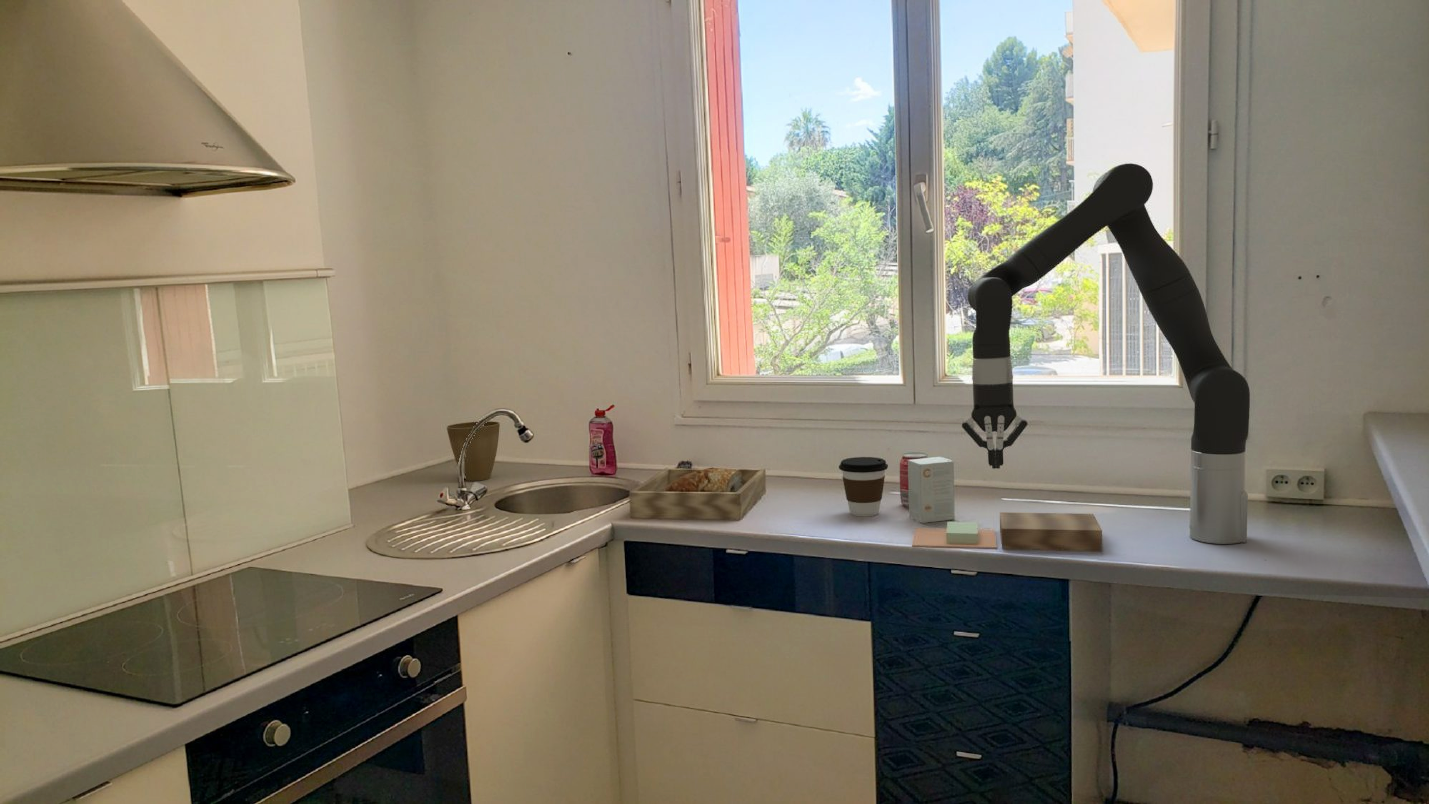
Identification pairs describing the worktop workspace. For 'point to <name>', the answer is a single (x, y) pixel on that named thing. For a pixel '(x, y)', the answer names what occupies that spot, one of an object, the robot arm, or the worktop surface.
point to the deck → (1050, 531)
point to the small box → (931, 489)
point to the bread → (708, 481)
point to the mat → (939, 540)
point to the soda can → (904, 474)
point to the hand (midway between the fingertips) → (995, 467)
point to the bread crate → (695, 498)
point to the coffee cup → (863, 484)
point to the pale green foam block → (962, 532)
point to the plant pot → (475, 448)
